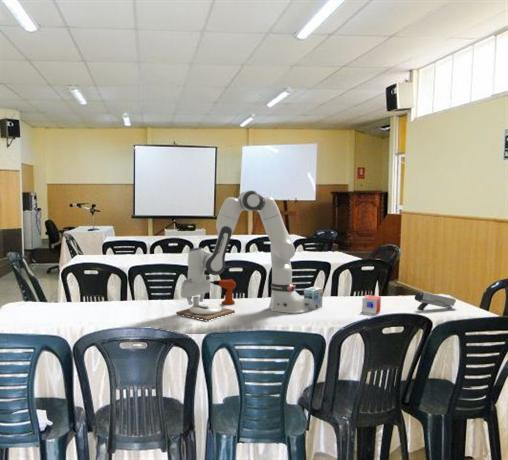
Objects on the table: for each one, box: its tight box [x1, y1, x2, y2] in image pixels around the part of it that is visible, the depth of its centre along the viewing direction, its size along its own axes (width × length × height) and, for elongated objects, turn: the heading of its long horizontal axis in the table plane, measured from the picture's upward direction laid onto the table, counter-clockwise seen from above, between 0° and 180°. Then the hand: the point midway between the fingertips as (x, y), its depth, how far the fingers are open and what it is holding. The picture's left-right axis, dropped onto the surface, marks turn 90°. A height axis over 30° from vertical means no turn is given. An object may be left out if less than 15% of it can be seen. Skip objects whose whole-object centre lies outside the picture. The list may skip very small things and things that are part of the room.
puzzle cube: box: [361, 294, 382, 314], centre depth 265 cm, size 8×8×8 cm
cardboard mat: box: [175, 304, 236, 322], centre depth 255 cm, size 22×22×2 cm
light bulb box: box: [303, 286, 324, 310], centre depth 272 cm, size 11×7×11 cm, turn 143°
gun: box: [414, 291, 457, 311], centre depth 271 cm, size 2×25×10 cm, turn 101°
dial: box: [189, 296, 223, 315], centre depth 255 cm, size 17×17×6 cm
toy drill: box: [210, 278, 237, 306], centre depth 277 cm, size 5×19×15 cm, turn 100°
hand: (195, 303), depth 259 cm, fingers open, 7 cm apart
